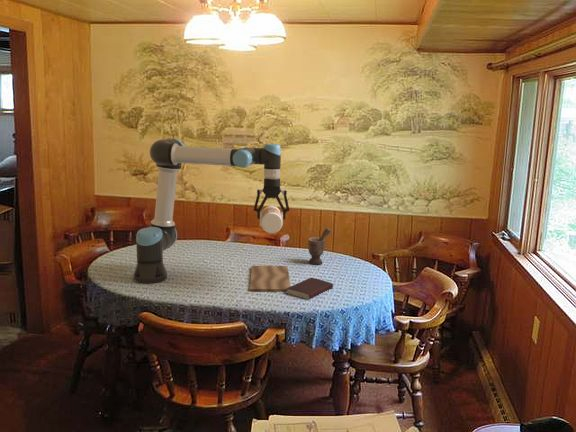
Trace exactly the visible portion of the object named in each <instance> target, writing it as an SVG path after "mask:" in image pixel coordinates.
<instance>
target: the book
mask: <svg viewBox="0 0 576 432" xmlns="http://www.w3.org/2000/svg"><path fill="white" fill-rule="evenodd" d="M290 286H291V287H288V288H287V292H286V293H288V294H287V295H291V294H292V295H291V296H295V295H296V297H298V296H299V298H302V297H303V298H302V299H306V298H307V299H306V300H311V299H314V298H315V297H317V296H319V294H320V295H322V294H324V293H326V292H327V290H328V291H330V290H332V289H333V288H334V284H333V283H332V282H329V281H327V280H323V279H319V278H314V277H310V278H307V279H304V280H302V281H299V282H298V283H296V284H293V285H290ZM329 289H330V290H329ZM325 291H326V292H325ZM323 292H324V293H323ZM321 293H322V294H321Z"/></svg>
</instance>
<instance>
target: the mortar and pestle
mask: <svg viewBox="0 0 576 432" xmlns="http://www.w3.org/2000/svg"><path fill="white" fill-rule="evenodd" d="M331 231H332V230H331V229H330V228H329V227H326V228H325V229H324V231H323V232H322V234H321V235H320V237H314V236H313V237H309V238H308V245H307V247H308V248H307V249H308V253H309V255H310V256H311V257H310V258H309V260H308V264H309V265H316V266H317V265H323V260H322V259H321V256H322V255H323V254H324V251H325V243H326V240H325V239H326V238H327V236H329V234H330V233H331Z"/></svg>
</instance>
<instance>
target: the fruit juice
mask: <svg viewBox="0 0 576 432" xmlns="http://www.w3.org/2000/svg"><path fill="white" fill-rule="evenodd" d="M261 212H262V216H261V226H260V227H261V228H262V229H263V231H265V233H267V234H276V233H278V232H279V231H280V230H281V229H282V216H281V212H282V211H281V210H280V209H279V208H278V207H277V206H275V205H268V206H266V207H264V209H263V210H262V211H261Z"/></svg>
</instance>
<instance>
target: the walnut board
mask: <svg viewBox="0 0 576 432" xmlns="http://www.w3.org/2000/svg"><path fill="white" fill-rule="evenodd" d="M291 286H292V285H291V280H290V274H289V268H288V265H251V275H250V290H249V291H250V292H252V293H253V292H255V293H256V292H257V293H259V292H260V293H262V292H263V293H264V292H268V293H269V292H270V293H274V292H275V293H278V292H280V293H282V292H283V293H287V288H288V287H291Z"/></svg>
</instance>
